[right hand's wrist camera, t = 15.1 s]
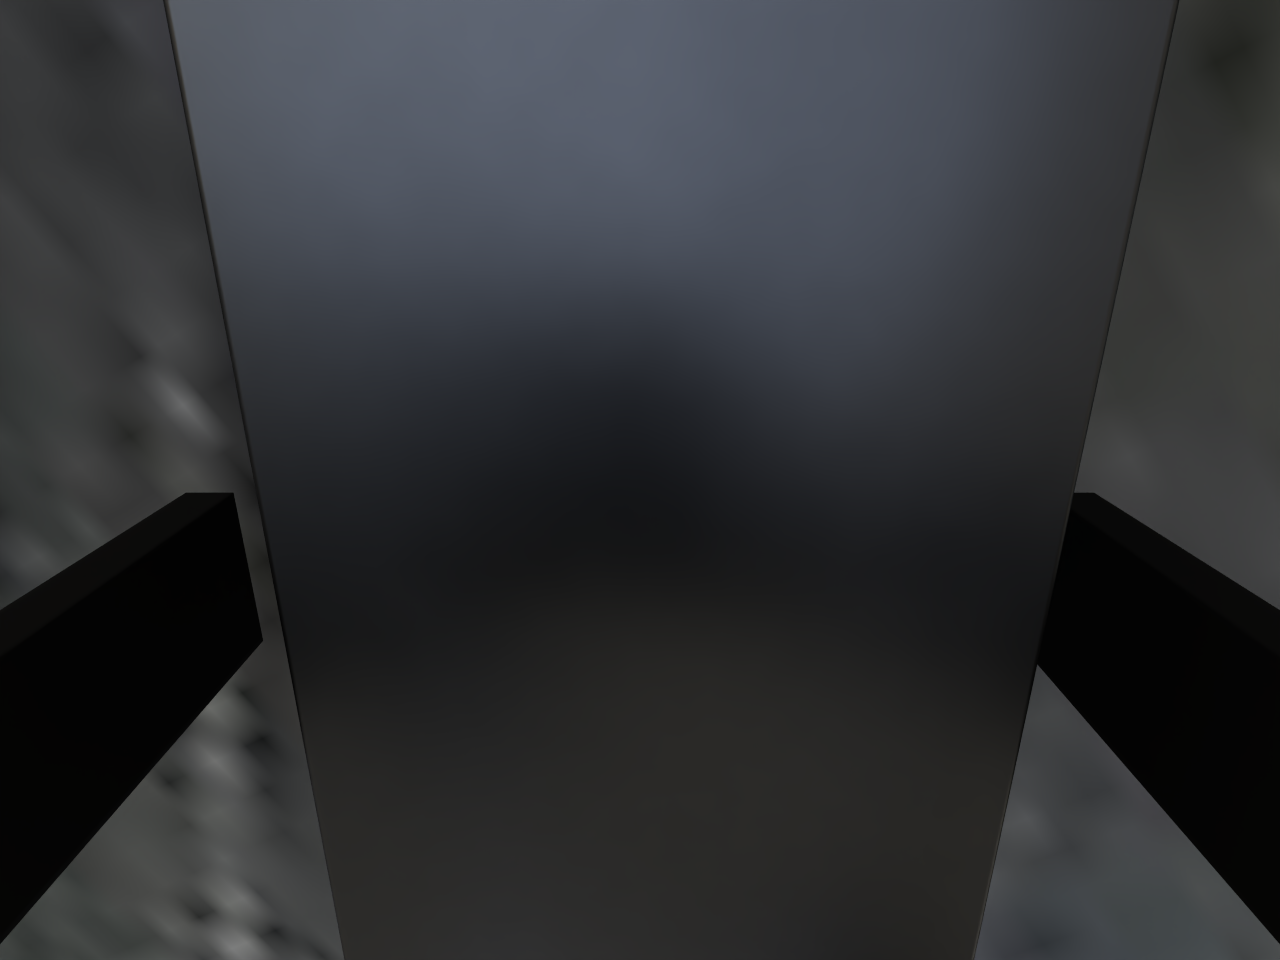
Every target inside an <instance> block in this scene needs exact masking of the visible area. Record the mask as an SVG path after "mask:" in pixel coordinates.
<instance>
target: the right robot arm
mask: <svg viewBox="0 0 1280 960" xmlns="http://www.w3.org/2000/svg"><path fill="white" fill-rule="evenodd" d="M262 641H263V638H262V633H261V628H260V623H259V618H258V613H257V608H256V603H255V598H254V593H253V588H252V583H251V578H250V573H249V568H248V563H247V558H246V553H245V548H244V543H243V538H242V533H241V528H240V523H239V518H238V513H237V508H236V503H235V498H234V493H185V494H183V495H182V496H180V497H178V498H177V499H175V500H174V501H172V502H171V503H169V504H167V505H166V506H164V507H163V508H161V509H159V510H158V511H156V512H155V513H153V514H152V515H150V516H148V517H147V518H145V519H144V520H142V521H141V522H139V523H137V524H136V525H134V526H133V527H131V528H129V529H128V530H126V531H125V532H123V533H122V534H120V535H118V536H117V537H115V538H114V539H112V540H110V541H109V542H107V543H106V544H104V545H103V546H101V547H99V548H98V549H96V550H95V551H93V552H92V553H90V554H88V555H87V556H85V557H84V558H82V559H80V560H79V561H77V562H76V563H74V564H73V565H71V566H69V567H68V568H66V569H65V570H63V571H61V572H60V573H58V574H57V575H55V576H54V577H52V578H50V579H49V580H47V581H46V582H44V583H43V584H41V585H39V586H38V587H36V588H35V589H33V590H31V591H30V592H28V593H27V594H25V595H24V596H22V597H20V598H19V599H17V600H16V601H14V602H12V603H11V604H9V605H8V606H6V607H5V608H3V609H1V610H0V944H1V943H2V941H3V940H4V939H5V938H6V937H7V936H8V934H9V933H10V932H11V931H12V930H13V929H14V928H15V926H16V925H17V924H18V923H19V922H20V921H21V919H22V918H23V917H24V916H25V915H26V914H27V913H28V911H29V910H30V909H31V908H32V907H33V906H34V904H35V903H36V902H37V901H38V900H39V899H40V898H41V896H42V895H43V894H44V893H45V892H46V891H47V889H48V888H49V887H50V886H51V885H52V884H53V883H54V881H55V880H56V879H57V878H58V877H59V876H60V874H61V873H62V872H63V871H64V870H65V869H66V867H67V866H68V865H69V864H70V863H71V862H72V861H73V859H74V858H75V857H76V856H77V855H78V854H79V852H80V851H81V850H82V849H83V848H84V847H85V846H86V844H87V843H88V842H89V841H90V840H91V839H92V837H93V836H94V835H95V834H96V833H97V832H98V831H99V829H100V828H101V827H102V826H103V825H104V824H105V822H106V821H107V820H108V819H109V818H110V817H111V816H112V814H113V813H114V812H115V811H116V810H117V809H118V807H119V806H120V805H121V804H122V803H123V802H124V801H125V799H126V798H127V797H128V796H129V795H130V794H131V792H132V791H133V790H134V789H135V788H136V787H137V786H138V784H139V783H140V782H141V781H142V780H143V779H144V777H145V776H146V775H147V774H148V773H149V772H150V771H151V769H152V768H153V767H154V766H155V765H156V764H157V762H158V761H159V760H160V759H161V758H162V757H163V756H164V754H165V753H166V752H167V751H168V750H169V749H170V747H171V746H172V745H173V744H174V743H175V742H176V741H177V739H178V738H179V737H180V736H181V735H182V734H183V732H184V731H185V730H186V729H187V728H188V727H189V726H190V724H191V723H192V722H193V721H194V720H195V719H196V717H197V716H198V715H199V714H200V713H201V712H202V711H203V709H204V708H205V707H206V706H207V705H208V704H209V702H210V701H211V700H212V699H213V698H214V697H215V696H216V694H217V693H218V692H219V691H220V690H221V689H222V687H223V686H224V685H225V684H226V683H227V682H228V681H229V679H230V678H231V677H232V676H233V675H234V674H235V672H236V671H237V670H238V669H239V668H240V667H241V665H242V664H243V663H244V662H245V661H246V660H247V659H248V657H249V656H250V655H251V654H252V653H253V652H254V650H255V649H256V648H257V647H258V646H259V645H260V644H261V642H262ZM1037 664H1038V666H1039V667H1040V668H1041V669H1042V670H1043V671H1044V672H1045V674H1046V675H1047V676H1048V677H1049V678H1050V679H1051V681H1052V682H1053V683H1054V684H1055V685H1056V686H1057V687H1058V689H1059V690H1060V691H1061V692H1062V693H1063V694H1064V696H1065V697H1066V698H1067V699H1068V700H1069V701H1070V702H1071V704H1072V705H1073V706H1074V707H1075V708H1076V709H1077V711H1078V712H1079V713H1080V714H1081V715H1082V716H1083V717H1084V719H1085V720H1086V721H1087V722H1088V723H1089V724H1090V726H1091V727H1092V728H1093V729H1094V730H1095V731H1096V732H1097V734H1098V735H1099V736H1100V737H1101V738H1102V739H1103V741H1104V742H1105V743H1106V744H1107V745H1108V746H1109V747H1110V749H1111V750H1112V751H1113V752H1114V753H1115V754H1116V756H1117V757H1118V758H1119V759H1120V760H1121V761H1122V762H1123V764H1124V765H1125V766H1126V767H1127V768H1128V769H1129V771H1130V772H1131V773H1132V774H1133V775H1134V776H1135V777H1136V779H1137V780H1138V781H1139V782H1140V783H1141V784H1142V786H1143V787H1144V788H1145V789H1146V790H1147V791H1148V792H1149V794H1150V795H1151V796H1152V797H1153V798H1154V799H1155V801H1156V802H1157V803H1158V804H1159V805H1160V806H1161V807H1162V809H1163V810H1164V811H1165V812H1166V813H1167V814H1168V816H1169V817H1170V818H1171V819H1172V820H1173V821H1174V822H1175V824H1176V825H1177V826H1178V827H1179V828H1180V829H1181V831H1182V832H1183V833H1184V834H1185V835H1186V836H1187V837H1188V839H1189V840H1190V841H1191V842H1192V843H1193V844H1194V846H1195V847H1196V848H1197V849H1198V850H1199V851H1200V852H1201V854H1202V855H1203V856H1204V857H1205V858H1206V859H1207V861H1208V862H1209V863H1210V864H1211V865H1212V866H1213V868H1214V869H1215V870H1216V871H1217V872H1218V873H1219V874H1220V876H1221V877H1222V878H1223V879H1224V880H1225V881H1226V883H1227V884H1228V885H1229V886H1230V887H1231V888H1232V889H1233V891H1234V892H1235V893H1236V894H1237V895H1238V896H1239V898H1240V899H1241V900H1242V901H1243V902H1244V903H1245V904H1246V906H1247V907H1248V908H1249V909H1250V910H1251V911H1252V913H1253V914H1254V915H1255V916H1256V917H1257V918H1258V919H1259V921H1260V922H1261V923H1262V924H1263V925H1264V926H1265V928H1266V929H1267V930H1268V931H1269V932H1270V933H1271V934H1272V936H1273V937H1274V938H1275V939H1276V940H1277V941H1278V943H1279V944H1280V610H1279V609H1277V608H1275V607H1274V606H1272V605H1271V604H1269V603H1268V602H1266V601H1264V600H1263V599H1261V598H1260V597H1258V596H1256V595H1255V594H1253V593H1252V592H1250V591H1249V590H1247V589H1245V588H1244V587H1242V586H1241V585H1239V584H1237V583H1236V582H1234V581H1233V580H1231V579H1230V578H1228V577H1226V576H1225V575H1223V574H1222V573H1220V572H1219V571H1217V570H1215V569H1214V568H1212V567H1211V566H1209V565H1207V564H1206V563H1204V562H1203V561H1201V560H1200V559H1198V558H1196V557H1195V556H1193V555H1192V554H1190V553H1188V552H1187V551H1185V550H1184V549H1182V548H1181V547H1179V546H1177V545H1176V544H1174V543H1173V542H1171V541H1170V540H1168V539H1166V538H1165V537H1163V536H1162V535H1160V534H1158V533H1157V532H1155V531H1154V530H1152V529H1151V528H1149V527H1147V526H1146V525H1144V524H1143V523H1141V522H1139V521H1138V520H1136V519H1135V518H1133V517H1132V516H1130V515H1128V514H1127V513H1125V512H1124V511H1122V510H1121V509H1119V508H1117V507H1116V506H1114V505H1113V504H1111V503H1109V502H1108V501H1106V500H1105V499H1103V498H1102V497H1100V496H1098V495H1097V494H1095V493H1074V494H1073V499H1072V504H1071V508H1070V513H1069V518H1068V523H1067V527H1066V532H1065V537H1064V541H1063V546H1062V551H1061V555H1060V560H1059V565H1058V569H1057V574H1056V579H1055V583H1054V588H1053V593H1052V597H1051V602H1050V607H1049V611H1048V616H1047V621H1046V625H1045V630H1044V635H1043V639H1042V644H1041V649H1040V653H1039V658H1038V663H1037Z"/></svg>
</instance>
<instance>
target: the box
mask: <svg viewBox="0 0 1280 960" xmlns="http://www.w3.org/2000/svg"><path fill="white" fill-rule="evenodd" d="M163 1H164V7H165V12H166V17H167V23H168V28H169V33H170V38H171V44H172V49H173V54H174V60H175V65H176V70H177V75H178V81H179V86H180V91H181V97H182V102H183V107H184V113H185V118H186V123H187V128H188V134H189V139H190V144H191V150H192V155H193V160H194V165H195V171H196V176H197V181H198V187H199V192H200V197H201V203H202V208H203V213H204V218H205V224H206V229H207V234H208V240H209V245H210V250H211V255H212V261H213V266H214V271H215V277H216V282H217V287H218V292H219V298H220V303H221V308H222V314H223V319H224V324H225V330H226V335H227V340H228V345H229V351H230V356H231V361H232V367H233V372H234V377H235V382H236V388H237V393H238V398H239V404H240V409H241V414H242V420H243V425H244V430H245V435H246V441H247V446H248V451H249V457H250V462H251V467H252V472H253V478H254V483H255V488H256V494H257V499H258V504H259V509H260V515H261V520H262V525H263V531H264V536H265V541H266V547H267V552H268V557H269V562H270V568H271V573H272V578H273V584H274V589H275V594H276V599H277V605H278V610H279V615H280V621H281V626H282V631H283V636H284V642H285V647H286V652H287V658H288V663H289V668H290V674H291V679H292V684H293V689H294V695H295V700H296V705H297V711H298V716H299V721H300V726H301V732H302V737H303V742H304V748H305V753H306V758H307V764H308V769H309V774H310V779H311V785H312V790H313V795H314V801H315V806H316V811H317V816H318V822H319V827H320V832H321V838H322V843H323V848H324V853H325V859H326V864H327V869H328V875H329V880H330V885H331V891H332V896H333V901H334V906H335V912H336V917H337V922H338V928H339V933H340V938H341V943H342V949H343V954H344V959H345V960H974V957H975V952H976V948H977V943H978V938H979V934H980V929H981V924H982V920H983V915H984V910H985V906H986V901H987V896H988V892H989V887H990V882H991V878H992V873H993V868H994V864H995V859H996V854H997V850H998V845H999V840H1000V836H1001V831H1002V826H1003V822H1004V817H1005V812H1006V808H1007V803H1008V798H1009V794H1010V789H1011V784H1012V779H1013V775H1014V770H1015V765H1016V761H1017V756H1018V751H1019V747H1020V742H1021V737H1022V733H1023V728H1024V723H1025V719H1026V714H1027V709H1028V705H1029V700H1030V695H1031V691H1032V686H1033V681H1034V677H1035V672H1036V667H1037V663H1038V658H1039V653H1040V649H1041V644H1042V639H1043V635H1044V630H1045V625H1046V621H1047V616H1048V611H1049V607H1050V602H1051V597H1052V593H1053V588H1054V583H1055V579H1056V574H1057V569H1058V565H1059V560H1060V555H1061V551H1062V546H1063V541H1064V537H1065V532H1066V527H1067V523H1068V518H1069V513H1070V508H1071V504H1072V499H1073V494H1074V490H1075V485H1076V480H1077V476H1078V471H1079V466H1080V462H1081V457H1082V452H1083V448H1084V443H1085V438H1086V434H1087V429H1088V424H1089V420H1090V415H1091V410H1092V406H1093V401H1094V396H1095V392H1096V387H1097V382H1098V378H1099V373H1100V368H1101V364H1102V359H1103V354H1104V350H1105V345H1106V340H1107V336H1108V331H1109V326H1110V322H1111V317H1112V312H1113V308H1114V303H1115V298H1116V294H1117V289H1118V284H1119V280H1120V275H1121V270H1122V266H1123V261H1124V256H1125V251H1126V247H1127V242H1128V237H1129V233H1130V228H1131V223H1132V219H1133V214H1134V209H1135V205H1136V200H1137V195H1138V191H1139V186H1140V181H1141V177H1142V172H1143V167H1144V163H1145V158H1146V153H1147V149H1148V144H1149V139H1150V135H1151V130H1152V125H1153V121H1154V116H1155V111H1156V107H1157V102H1158V97H1159V93H1160V88H1161V83H1162V79H1163V74H1164V69H1165V65H1166V60H1167V55H1168V51H1169V46H1170V41H1171V37H1172V32H1173V27H1174V23H1175V18H1176V13H1177V9H1178V4H1179V0H163Z"/></svg>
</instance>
